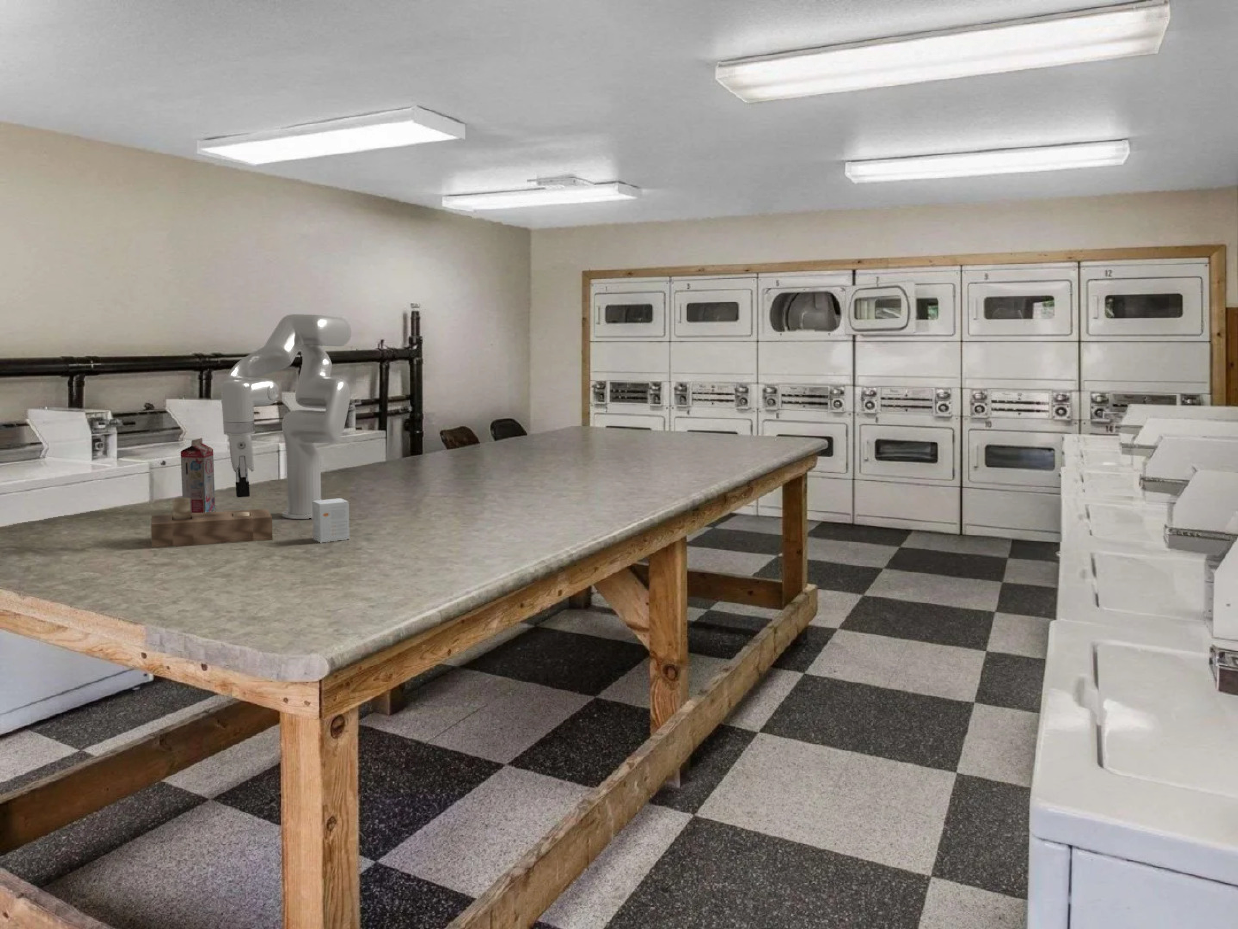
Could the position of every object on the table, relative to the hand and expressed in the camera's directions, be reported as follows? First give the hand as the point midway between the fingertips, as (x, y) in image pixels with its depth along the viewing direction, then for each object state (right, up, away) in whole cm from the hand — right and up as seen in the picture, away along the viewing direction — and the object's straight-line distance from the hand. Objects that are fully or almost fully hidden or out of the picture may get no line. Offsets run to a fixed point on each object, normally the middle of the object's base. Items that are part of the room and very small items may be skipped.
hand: (243, 496), depth 230 cm
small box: (+23, -12, 0) cm, 26 cm away
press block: (-7, -11, -3) cm, 13 cm away
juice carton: (-27, -6, +32) cm, 42 cm away
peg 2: (0, -10, 0) cm, 10 cm away
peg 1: (-13, -6, -7) cm, 16 cm away
